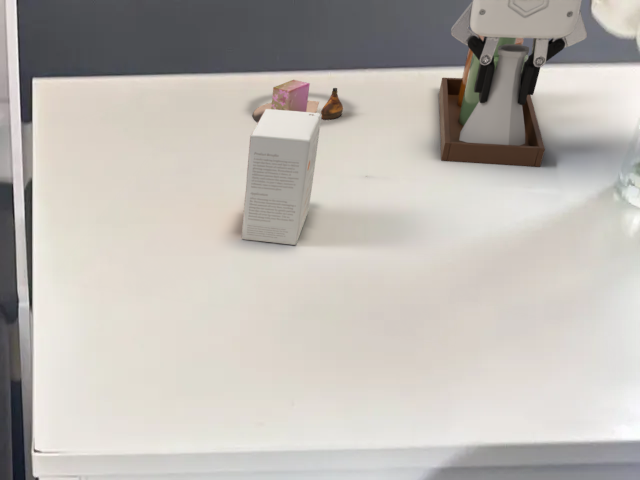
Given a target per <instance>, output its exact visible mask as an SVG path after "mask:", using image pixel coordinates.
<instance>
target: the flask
mask: <svg viewBox="0 0 640 480" xmlns="http://www.w3.org/2000/svg"><path fill="white" fill-rule="evenodd" d="M529 53H530V46H526V45H524V44H523V45H516V44H505V45H501V46H499V47H498V55H499V59H498V63H497V66H496V69H495V71H494V74H493V79H492V83H491V87H490V91H489V96H488V100H487V102H485V103H480V101H479V102H478V104H477V106H476V107H475V109H474V111H473V112H472V114H471V115H470V117H469V119H468V120H467V122H466V123H465V125H464V127H463V128H462V130H461V132H460V138H459V140H460V141H464V142H467V143H483V144H500V145H517V146H519V145H522V144H525V126H524V118H523V109H522V105H519V103H518V99H519V94H520V85H521V71H522V66H523V62H524V58H525V56H527V55H528V56H529Z"/></svg>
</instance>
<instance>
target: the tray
mask: <svg viewBox="0 0 640 480" xmlns="http://www.w3.org/2000/svg"><path fill="white" fill-rule="evenodd" d="M461 81H462V77H441V81H440V87H439V92H438V104H439V133H440V136H439V139H440V160H441V162H453V163H468V164H481V165H482V164H483V165H484V164H485V165H499V166H516V167H529V168H540V167H541V165H542V162H543V158H544V154H545V151H546V146H545V143H544V139H543V137H542V132H541V129H540V125H539V122H538V118H537V114H536V110H535V107H534V102H533V99H532V95H527V98H526V102H525V105H522V109H523V118H524V126H525V144H522V145H519V146H517V145H500V144H483V143H467V142H464V141H460V140H459V138H460V132H461V130H462V128H463V127H464V126H463V125H461V124H460V123H459V122H458V119H459V114H460V109H461V107H460V106H458V105H457V99H458V95H459V90H460V86H461Z"/></svg>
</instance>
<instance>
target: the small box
mask: <svg viewBox="0 0 640 480" xmlns="http://www.w3.org/2000/svg"><path fill="white" fill-rule="evenodd" d="M321 122H322V114H321V112H316V113H312V112H300V111H287V110H275V109H265V111H264V113H263V114H262V116H261V118H260V120H259V122H256V124H255V125H256V126H255V127H254V129H253V131H252V132H251V134H250V135H249V147H248V159H247V168H246V169H247V170H246V182H245V183H246V184H245V193H244V203H243V219H242V228H241V239H242V240H246V241H255V242H256V241H257V242H267V243H274V244H283V245H292V246H296V245H298V241H299V238H300V236H301V233H302V230H303V227H304V225H305V222H306V219H307V216H308V215H309V211H310V202H311V197H312V190H313V183H314V182H313V181H314V175H315V167H316V161H317V152H318V146H319V137H320V132H321V131H320V130H321V124H322V123H321Z"/></svg>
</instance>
